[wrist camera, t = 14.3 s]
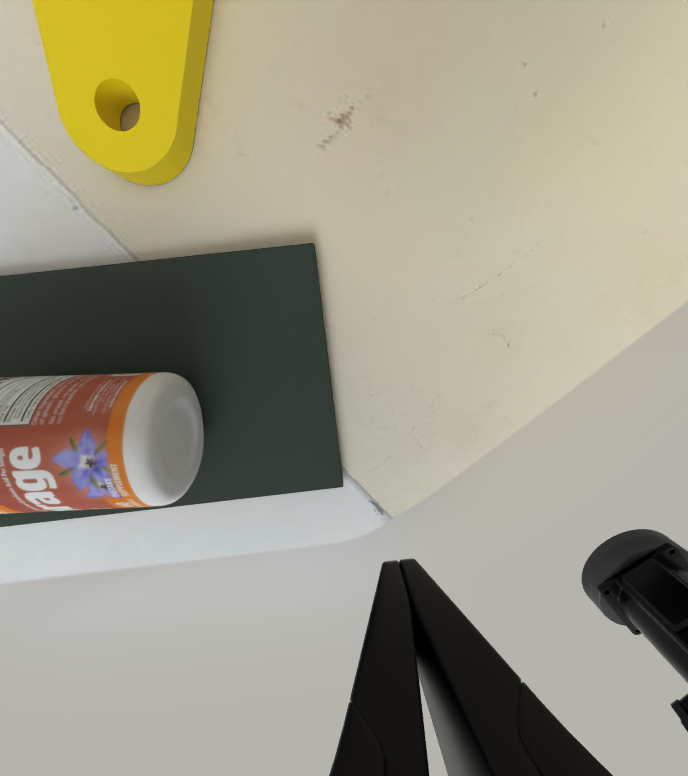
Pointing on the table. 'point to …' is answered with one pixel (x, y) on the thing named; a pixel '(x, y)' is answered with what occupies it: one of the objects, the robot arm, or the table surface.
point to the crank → (128, 78)
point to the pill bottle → (97, 441)
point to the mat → (195, 358)
